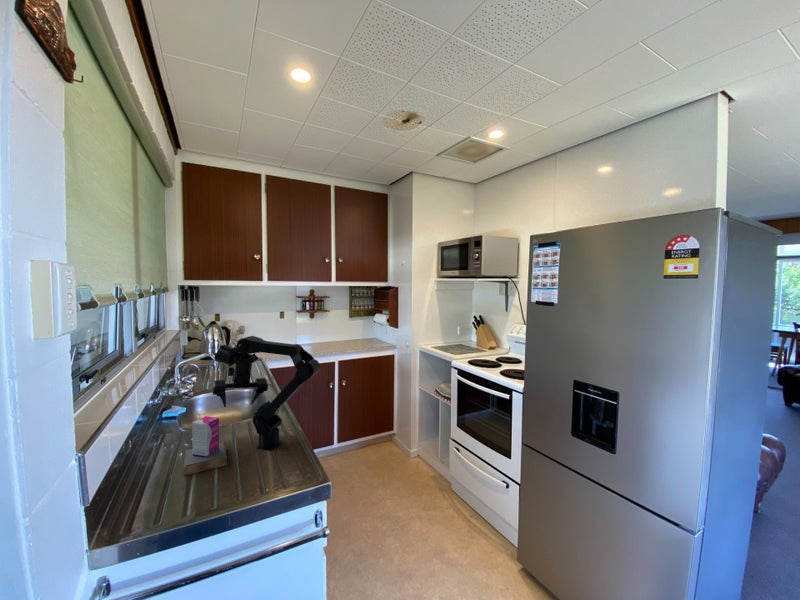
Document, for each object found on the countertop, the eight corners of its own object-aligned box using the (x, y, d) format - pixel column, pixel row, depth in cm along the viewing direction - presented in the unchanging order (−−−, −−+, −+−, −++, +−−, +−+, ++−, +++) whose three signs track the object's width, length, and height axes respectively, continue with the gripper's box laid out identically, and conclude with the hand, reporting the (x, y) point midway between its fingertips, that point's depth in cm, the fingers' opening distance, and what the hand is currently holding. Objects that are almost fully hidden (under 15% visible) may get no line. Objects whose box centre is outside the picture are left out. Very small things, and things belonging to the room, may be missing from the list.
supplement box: (207, 458, 109) (206, 424, 109) (192, 456, 111) (191, 422, 110) (220, 449, 115) (219, 417, 114) (205, 447, 116) (204, 415, 116)
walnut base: (224, 449, 121) (224, 441, 121) (227, 465, 111) (226, 456, 111) (185, 458, 115) (185, 449, 115) (184, 475, 105) (183, 466, 104)
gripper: (266, 358, 136) (260, 392, 139) (214, 359, 126) (209, 396, 129) (270, 372, 127) (265, 407, 130) (215, 374, 117) (210, 412, 120)
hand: (238, 405), depth 128 cm, fingers open, 9 cm apart
